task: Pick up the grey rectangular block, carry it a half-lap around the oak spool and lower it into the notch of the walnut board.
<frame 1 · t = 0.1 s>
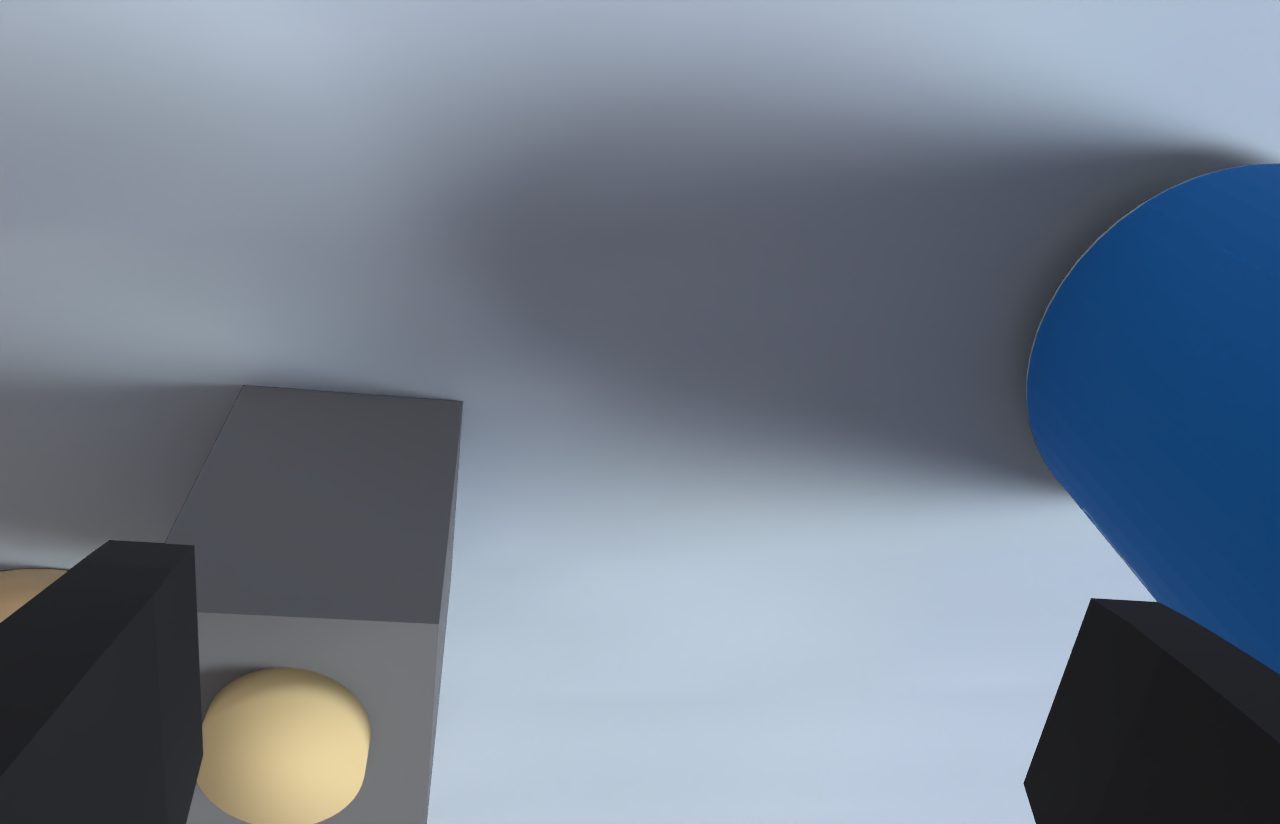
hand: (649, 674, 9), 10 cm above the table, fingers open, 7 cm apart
grey rectangular block: (352, 485, 20), on the table
spool: (69, 726, 21), on the table
beverage can: (1187, 333, 20), on the table
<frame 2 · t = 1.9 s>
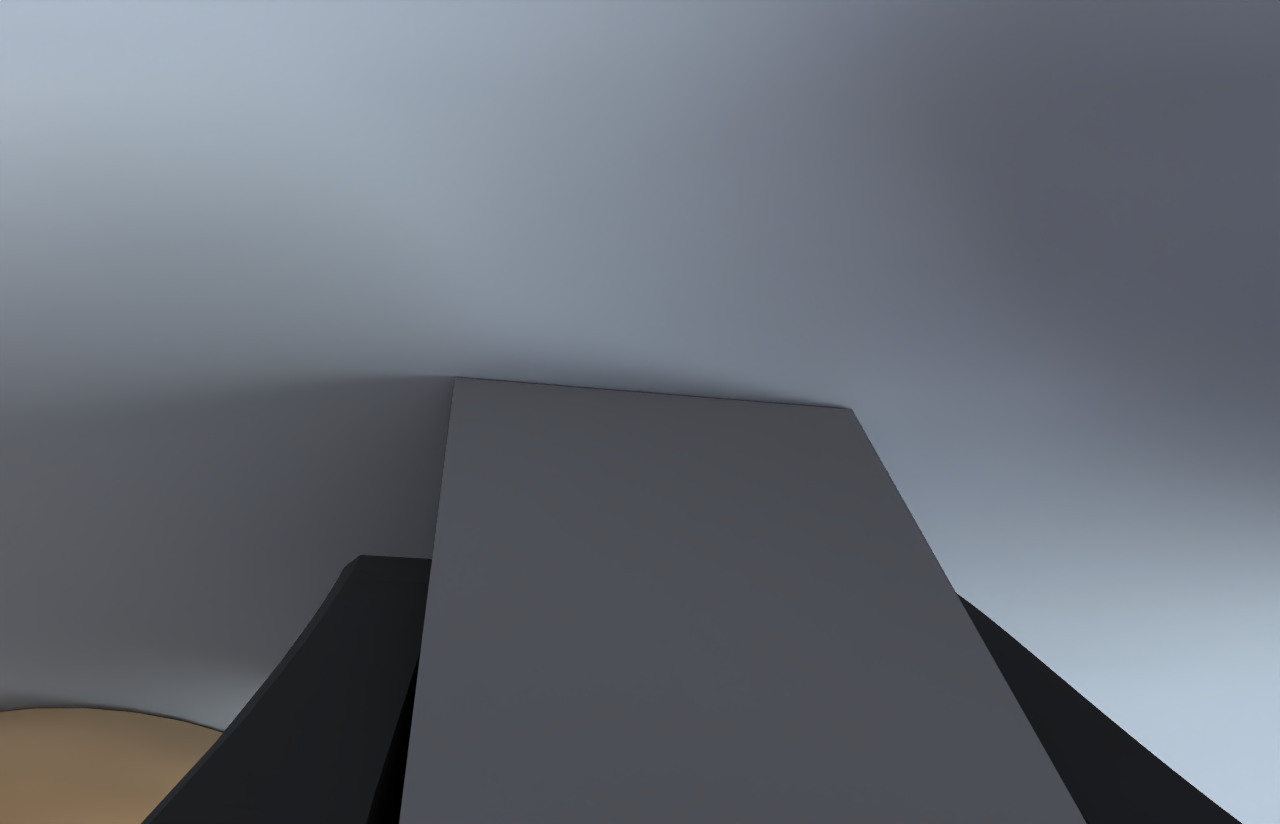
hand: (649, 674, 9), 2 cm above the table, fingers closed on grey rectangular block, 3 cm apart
grey rectangular block: (632, 561, 11), on the table, touching gripper
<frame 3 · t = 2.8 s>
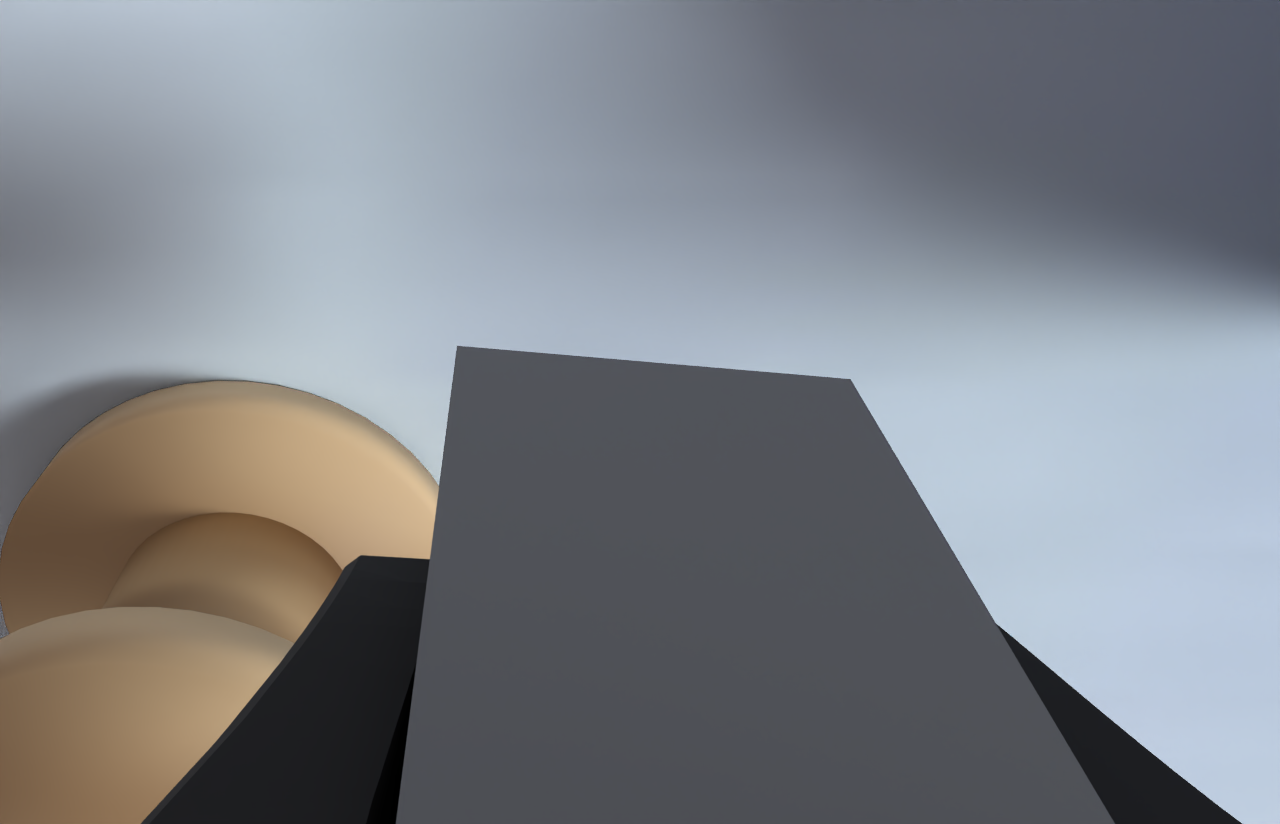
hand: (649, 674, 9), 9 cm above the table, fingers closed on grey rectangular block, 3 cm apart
grey rectangular block: (632, 531, 11), point 7 cm above the table, touching gripper
spool: (251, 574, 19), on the table
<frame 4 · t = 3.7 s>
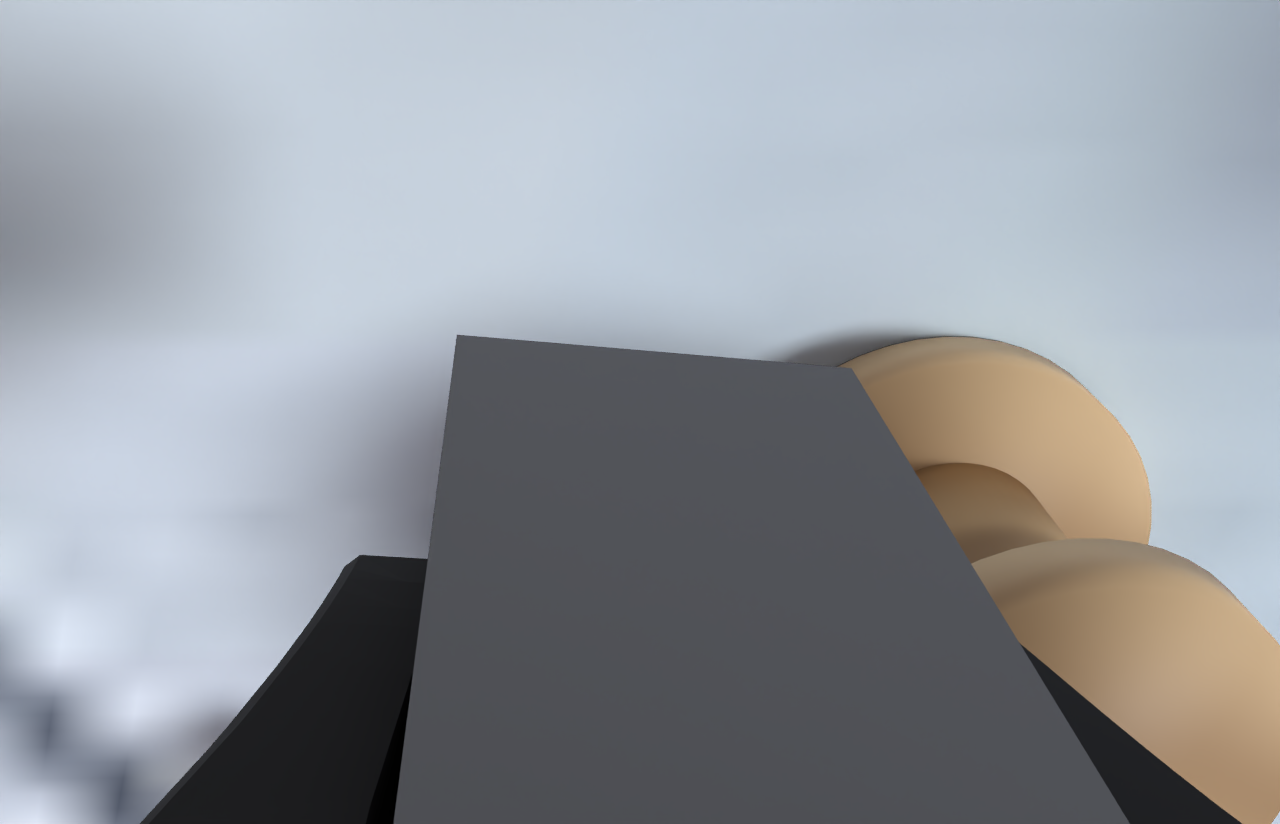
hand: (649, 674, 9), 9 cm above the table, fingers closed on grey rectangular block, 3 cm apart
grey rectangular block: (633, 522, 11), point 7 cm above the table, touching gripper
spool: (921, 526, 20), on the table
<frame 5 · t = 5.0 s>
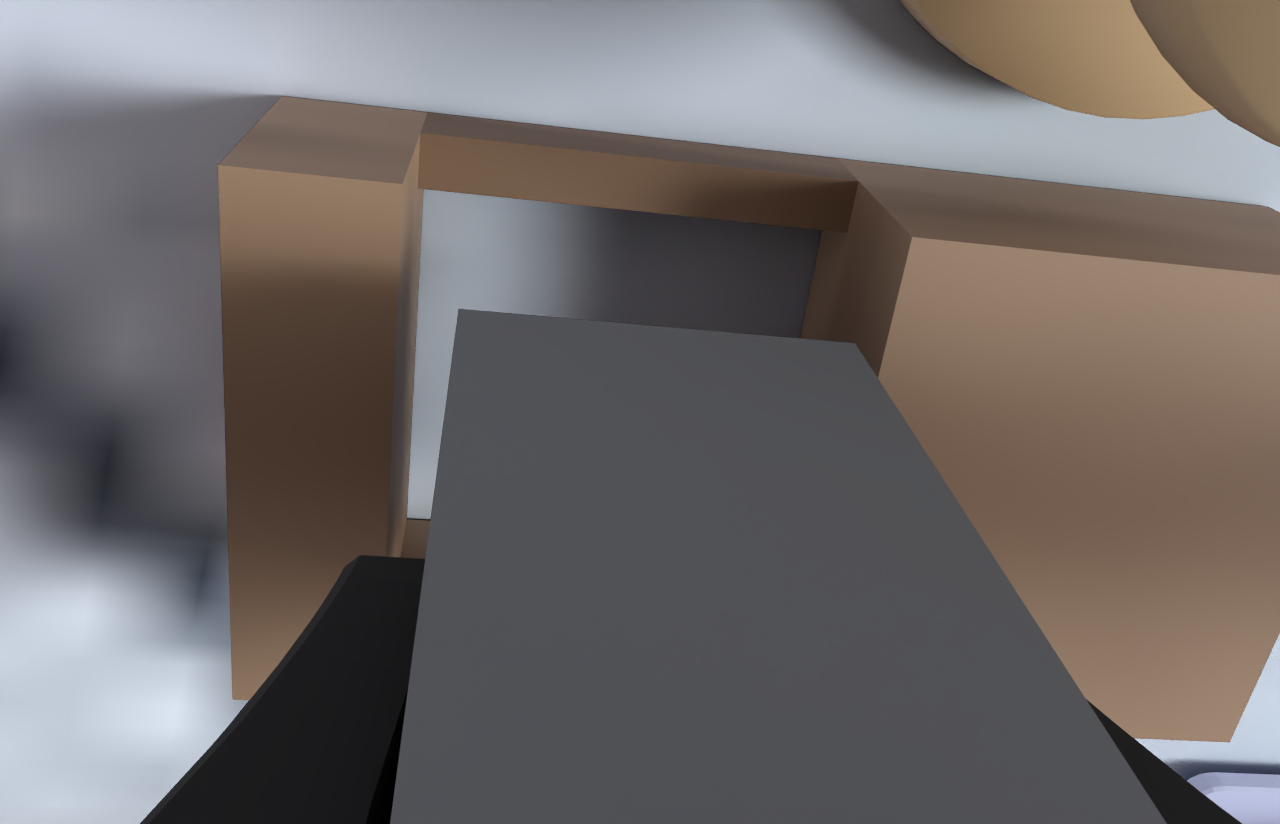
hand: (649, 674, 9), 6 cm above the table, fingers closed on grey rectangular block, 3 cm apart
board: (759, 383, 15), on the table
grey rectangular block: (636, 499, 11), point 4 cm above the table, touching gripper
when the fingers open (4 cm above the table, at t = 5.8 s): grey rectangular block drops 2 cm, resting in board.
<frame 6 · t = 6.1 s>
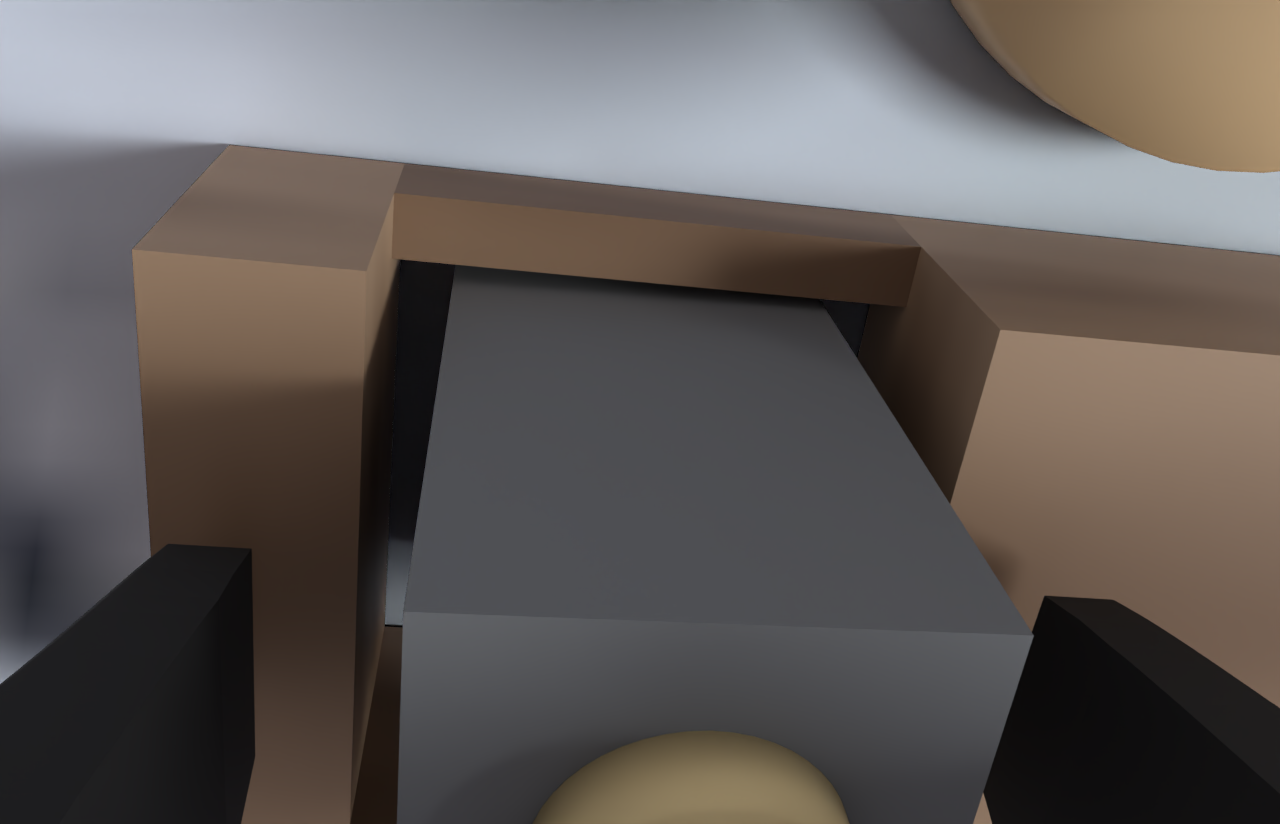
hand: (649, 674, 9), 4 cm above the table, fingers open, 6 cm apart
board: (795, 471, 13), on the table
grey rectangular block: (616, 415, 12), resting in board
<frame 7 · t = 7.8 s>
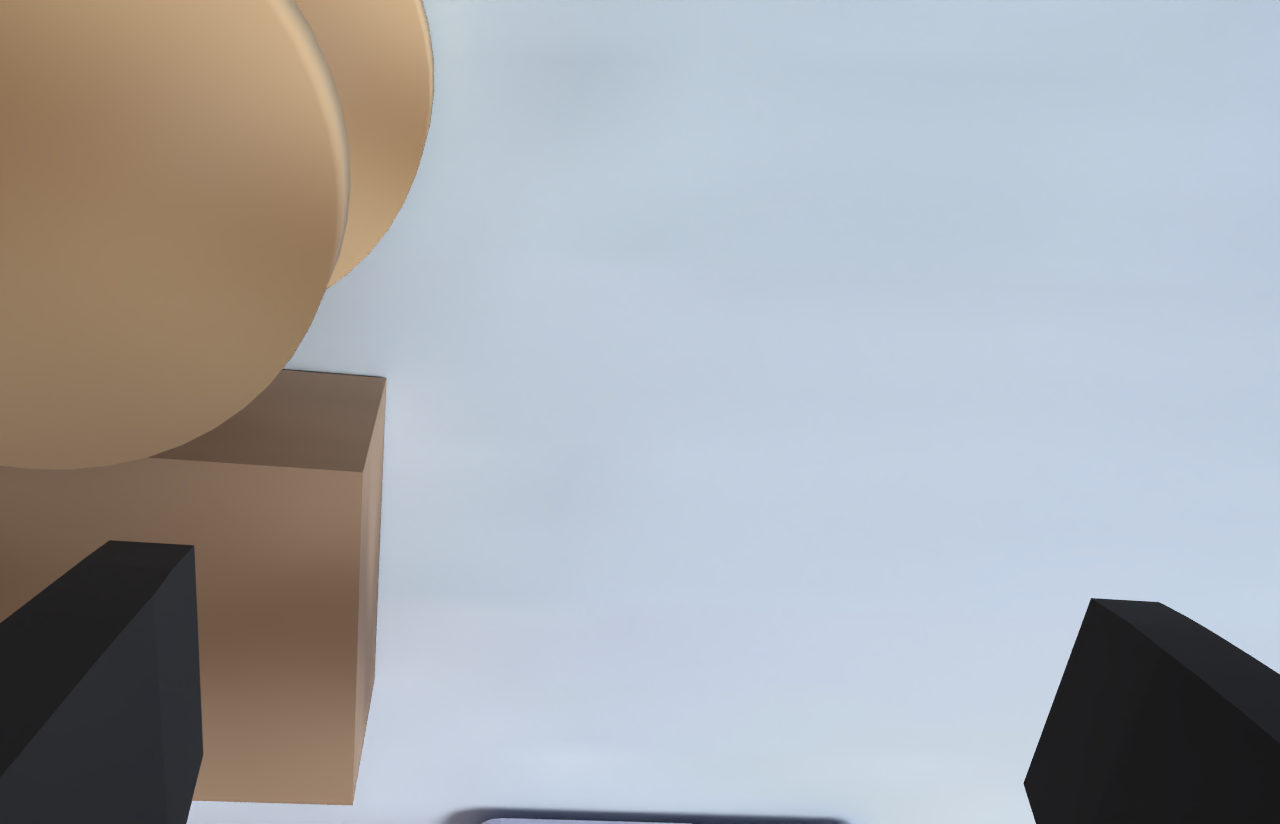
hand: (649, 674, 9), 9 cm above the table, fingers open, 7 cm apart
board: (0, 515, 19), on the table
spool: (174, 62, 16), on the table
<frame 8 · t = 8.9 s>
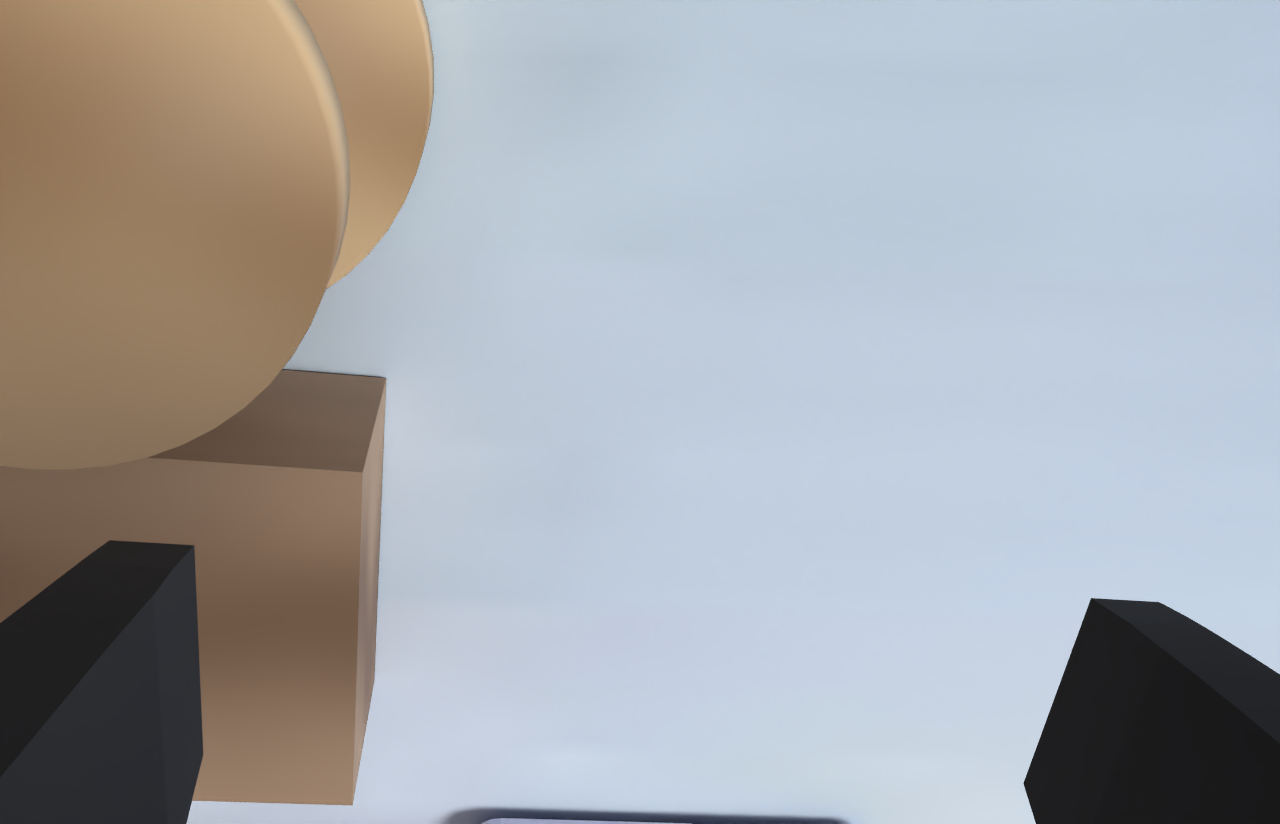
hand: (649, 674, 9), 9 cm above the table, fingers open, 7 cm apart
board: (0, 516, 19), on the table
spool: (174, 62, 16), on the table
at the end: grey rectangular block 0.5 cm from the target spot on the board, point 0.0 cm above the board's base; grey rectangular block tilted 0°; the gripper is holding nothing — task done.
